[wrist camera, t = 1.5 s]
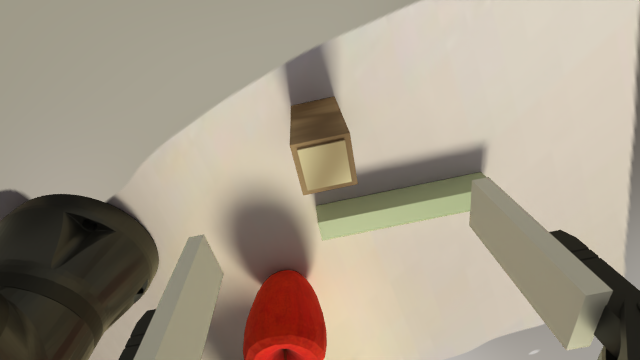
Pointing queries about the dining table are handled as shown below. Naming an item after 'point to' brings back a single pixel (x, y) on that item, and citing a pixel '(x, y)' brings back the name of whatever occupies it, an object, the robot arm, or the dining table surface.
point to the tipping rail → (396, 207)
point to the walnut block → (321, 146)
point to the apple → (285, 321)
